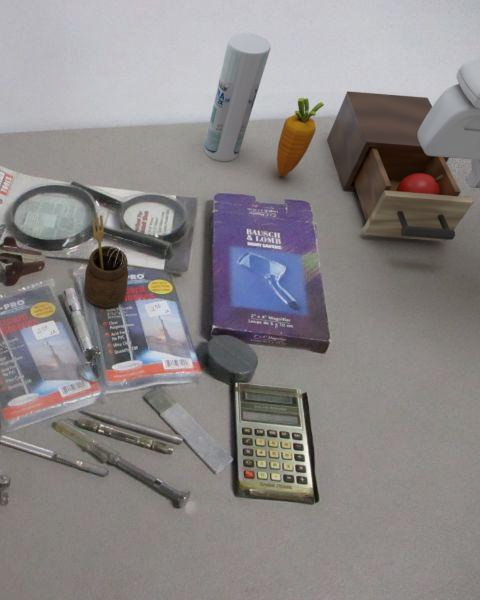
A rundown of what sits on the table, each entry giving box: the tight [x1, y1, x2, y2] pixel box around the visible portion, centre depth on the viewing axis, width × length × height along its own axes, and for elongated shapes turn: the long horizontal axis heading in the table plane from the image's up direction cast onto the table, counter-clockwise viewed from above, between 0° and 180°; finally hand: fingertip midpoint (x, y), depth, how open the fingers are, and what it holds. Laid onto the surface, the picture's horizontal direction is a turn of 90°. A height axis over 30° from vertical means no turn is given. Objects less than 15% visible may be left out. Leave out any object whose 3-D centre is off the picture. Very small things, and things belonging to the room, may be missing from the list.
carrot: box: [276, 97, 325, 178], centre depth 97 cm, size 5×5×15 cm
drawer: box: [353, 147, 474, 242], centre depth 92 cm, size 18×13×8 cm
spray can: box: [203, 32, 272, 162], centre depth 99 cm, size 6×6×20 cm
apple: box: [396, 173, 444, 195], centre depth 93 cm, size 6×6×7 cm
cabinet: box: [326, 90, 451, 192], centre depth 102 cm, size 15×14×10 cm
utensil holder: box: [83, 214, 129, 309], centre depth 80 cm, size 6×6×12 cm
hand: (478, 185), depth 75 cm, fingers closed
